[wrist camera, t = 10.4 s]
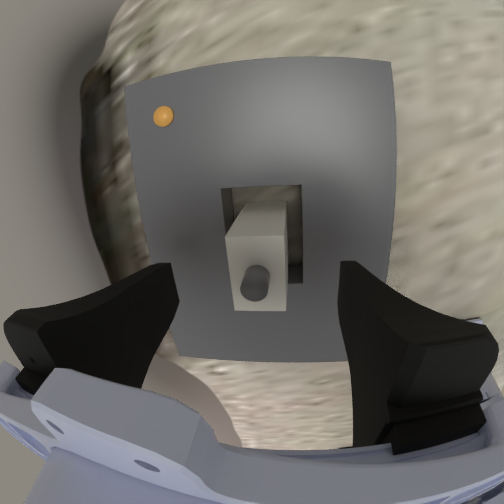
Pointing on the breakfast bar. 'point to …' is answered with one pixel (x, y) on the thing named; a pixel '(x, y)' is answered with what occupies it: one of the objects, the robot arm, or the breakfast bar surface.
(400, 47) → the breakfast bar surface
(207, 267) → the socket block
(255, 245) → the plug
